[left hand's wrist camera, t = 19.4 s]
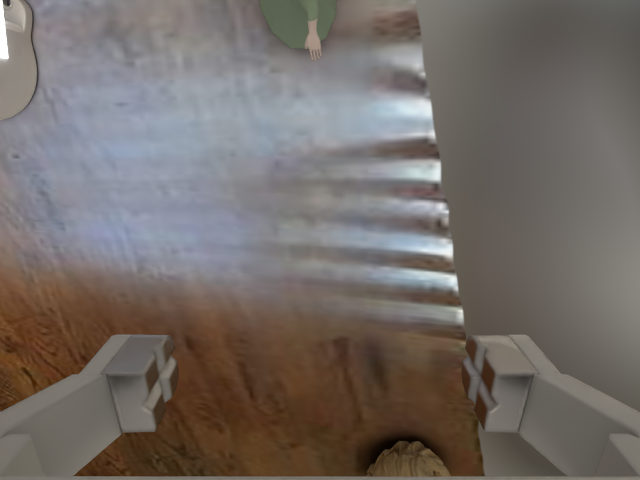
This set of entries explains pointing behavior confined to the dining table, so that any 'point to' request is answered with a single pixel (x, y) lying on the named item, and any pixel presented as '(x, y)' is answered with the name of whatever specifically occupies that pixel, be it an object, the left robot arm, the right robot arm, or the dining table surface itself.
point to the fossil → (408, 462)
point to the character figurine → (300, 21)
